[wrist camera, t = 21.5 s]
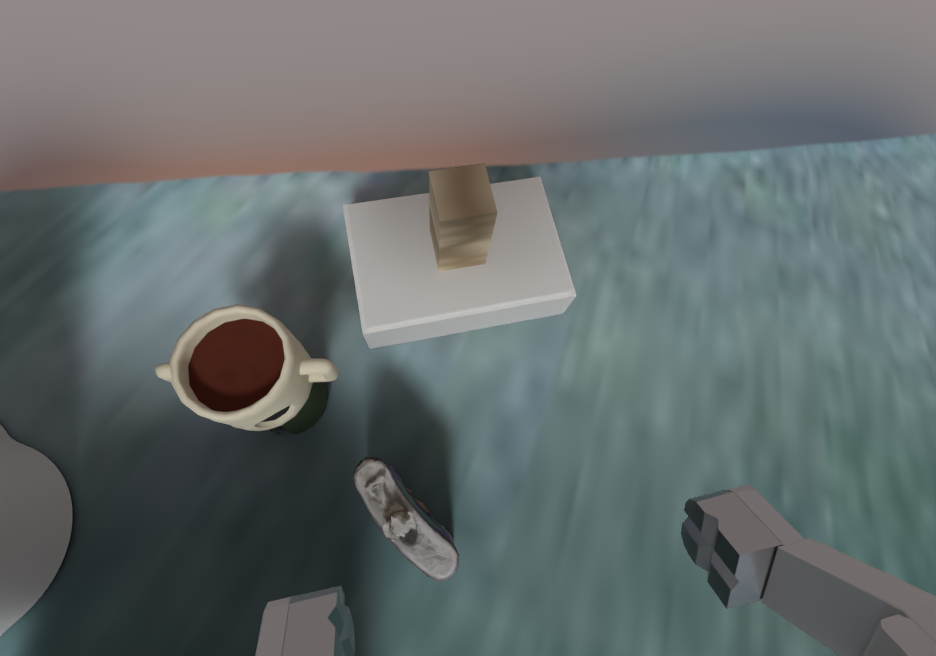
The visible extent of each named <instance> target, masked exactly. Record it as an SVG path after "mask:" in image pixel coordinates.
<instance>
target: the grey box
mask: <svg viewBox="0 0 936 656" xmlns="http://www.w3.org/2000/svg"><path fill="white" fill-rule="evenodd" d="M490 185H491V189H492V193H493V197H494V201H495V205H496V208H497V212H498V213H497V217H496V221H495V225H494V230H493V234H492V238H491V242H490V247H489V251H488V255H487V259H486V264H481V265H475V266H469V267H463V268H457V269H451V270H445V271H438V266H437V262H436V257H435V252H434V247H433V243H432V238H431V233H430V217H429V193H424V194H417V195H410V196H403V197H396V198H389V199H382V200H375V201H368V202H361V203H354V204H348V205H343V210H344V217H345V223H346V229H347V236H348V242H349V249H350V255H351V261H352V268H353V274H354V281H355V287H356V293H357V300H358V306H359V313H360V319H361V326H362V332H363V336H364V338H365V340H366V342H367V344H368V346H369V348H370V349H374V348H379V347H384V346H390V345H395V344H401V343H406V342H411V341H417V340H422V339H428V338H433V337H439V336H444V335H449V334H455V333H460V332H466V331H471V330H476V329H482V328H487V327H493V326H498V325H504V324H509V323H514V322H520V321H525V320H531V319H536V318H541V317H547V316H552V315H558V314H563V313H564V312H565V310H566V309H567V308H568V306H569V305H570V304H571V302H572V301H573V300H574V298H575V297H576V293H575V290H574V287H573V283H572V280H571V277H570V273H569V270H568V267H567V263H566V260H565V257H564V253H563V250H562V247H561V243H560V240H559V237H558V234H557V230H556V227H555V224H554V220H553V217H552V214H551V210H550V207H549V204H548V200H547V197H546V194H545V191H544V187H543V184H542V181H541V177H534V178H527V179H520V180H513V181H506V182H500V183H493V184H490Z"/></svg>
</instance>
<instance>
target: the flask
mask: <svg viewBox="0 0 936 656" xmlns="http://www.w3.org/2000/svg"><path fill="white" fill-rule="evenodd" d="M353 479H354V485H355V487H356V489H357V492H358V493H359V495H360V497H361V499H362V501H363V502H364V504H365V506H366V508H367V509H368V511H369V513H370V515H371V517H372V518H373V520H374V521H375V523H376V524H377V525H378V527H379V528H380V529H381V531H382V532H383V533H384V534H385V537H387V538H388V539H389V540H390V541H391V542H392V544H393V545H394V546H395V547H396V548H397V549H398V550H399V551H400V552H401V553H402V554H403V555H404V556H405V557H406V558H407V559H408V560H409V561H410V562H411V563H413V564H414V565H415V566H416V567H417V568H418V569H420V570H421V571H422V572H423V573H425V574H426V575H427V576H428V577H431V578H433V579H435V580H437V581H443V580H445V579H447V578H449V577H451V576H452V575H453V574H454V573H455V572H456V571H457V569H458V564H459V554H458V551H457V549H456V547H455V545H454V540H453V538H452V536H451V535H450V533H449V532H448V531H446V529H445V527H444V526H443V525H442V524H441V525H440V524H439V523H437V522H436V521H435V519H434V518H432V515H431V514H430V511H429V510H428V509H427V508H426V505H424V504H423V503H422V502H421V501H419V500H417V499H415V498H413V496H412V495H411V490H409V489H408V488H406V487H405V486H404V485H403V482H402V478H400V477H399V475H398V474H397V472H396V471H395V470H394V469H393V467H391V466H389V465H387V464H385V463H384V462H383V461H382V460H380V459H378V458H374V457H365V458H364V460H362V461H360V463H359V464H358V465H357V467H356V469H355V471H354V473H353Z"/></svg>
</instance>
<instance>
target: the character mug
mask: <svg viewBox="0 0 936 656" xmlns="http://www.w3.org/2000/svg"><path fill="white" fill-rule="evenodd" d="M155 372H156V374H157V376H158V377H159V378H161V379H163V380H165V381H168V382H171V383H172V386H173V387H174V389H175V391H176V393H177V395H178V396H179V398H180V400H181V402H182V403H183V404H184V405H186V406H187V407H188V408H190V409H191V410H192V411H194V412H195V413H196V414H198V415H199V416H202V417H205V418H208V419H211V420H212V421H215V422H220V423H224V424H228V425H231V426H233V427H235V428H240V429H244V430H249V431H263V430H270V431H272V432H274V433H276V434H281V433H280V432H279V431H277V430H276V429H275V427H279V428H282V429H286V430H288V431H290V432H291V433H293V434H298V433H300V432H302V431H304V430H306V429H308V428H309V427H311V426H313V425H314V424H315V423H316V421H317V420H318V419H319V418H320V416H321V415H322V414H323V413H324V411H325V407H326V403H327V398H328V391H327V385H326V382H330V381H333V380H336V378H337V377H338V375H339V372H338V370H337V368H336V367H335V365H334V364H333V363H332V362H331V361H329V360H326V359H320V358H319V359H311V358H310V356H309V355H308V353H307V352H306V350H305V349H304V347H303V346H302V344H301V343H300V342H299V341H298V340H297V339H296V338H295V336H294V335H293V334H292V333H291V332H290V331H289V330H288V329H287V328H286V327H285V326H284V325H283V324H282V323H281V322H280V321H279V320H277V319H276V318H274V317H273V316H271V315H270V314H268V313H266V312H265V311H263V310H262V309H260V308H256V307H250V306H244V305H238V304H237V305H232V306H227V307H222V308H217V309H214V310H212V311H210V312H209V313H207V314H205V315H203V316H202V317H200V318H198V319H197V320H195V321H193V322H192V324H191V325H190V326H189V327H188V328H187V329H186V331H185V332H184V333H183V334H182V335H181V336H180V338H179V339H178V340H177V343H176V346H175V348H174V351H173V354H172V357H171V359H170V363H165V364H160V365H158V367H157V368H156V369H155Z"/></svg>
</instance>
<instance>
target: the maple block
mask: <svg viewBox="0 0 936 656" xmlns="http://www.w3.org/2000/svg"><path fill="white" fill-rule="evenodd" d="M497 213H498V212H497V208H496V205H495V201H494V197H493V193H492V189H491V185H490V182H489V178H488V174H487V170H486V166H485V164H477V165H470V166H462V167H455V168H448V169H441V170H433V171H429V217H430V233H431V238H432V243H433V247H434V252H435V257H436V262H437V266H438V271H445V270H451V269H457V268H463V267H469V266H475V265H481V264H486V259H487V255H488V251H489V247H490V242H491V238H492V234H493V230H494V225H495V221H496V217H497Z"/></svg>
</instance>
